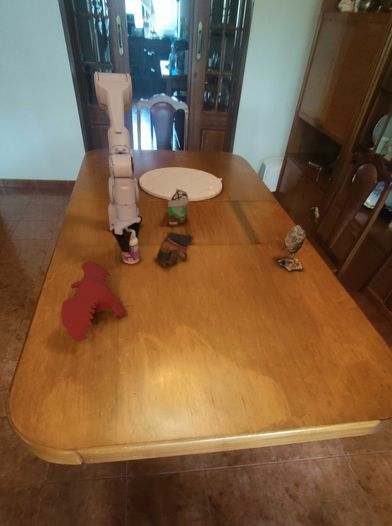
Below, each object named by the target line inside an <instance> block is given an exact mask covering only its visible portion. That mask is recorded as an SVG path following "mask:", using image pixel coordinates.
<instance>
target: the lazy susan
mask: <svg viewBox="0 0 392 526" xmlns="http://www.w3.org/2000/svg"><path fill="white" fill-rule="evenodd" d="M222 180H223V177H222V178H221V177H219V178H218V177H217V176H215V175H214V174H212V173H209V172H206V171H203V170H200V169H195V168H189V167H178V166H177V167H176V166H175V167H172V166H171V167H161V168H156V169H152V170H148V171H147V172H144V173H143V174H142V175H141V176H140V178H139V181H138V182H139V186H140V188H141V189H142V190H143V191H144V192H145V193H147V194H148V195H151V196H153V197H156V198H160V199H164V200H168V201H169V200H171V199H172V197H173V195H174V194H175V193H176V189H179V190H183V191H185V192H186V193H187V195H188V199H189V202H198V201H203V200H209V199H212V198H214V197H216V196H218V195H219V194H221V192H222V190H223V183H222Z"/></svg>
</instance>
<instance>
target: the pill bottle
mask: <svg viewBox="0 0 392 526" xmlns="http://www.w3.org/2000/svg"><path fill="white" fill-rule="evenodd" d="M126 230H127V231H128V232H132V234H131V237H130V244H129V252H128V253H126V252H122V251H121V255H122V257H121V258H122V261H123V262H124V263H125V264H129V265H132V264H133V265H134V264H137V263H138V262H139V261H140V249H139V247H140V246H139V238H138V239H137V238H136V237H135V236H136V235H135V231H134V230H132V229H126Z"/></svg>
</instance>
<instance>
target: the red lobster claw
mask: <svg viewBox="0 0 392 526" xmlns="http://www.w3.org/2000/svg"><path fill="white" fill-rule="evenodd" d="M81 269H82V271H83V274H84V275H83V277H82V279H81V280H80V279H79V280H78V281H75V282H73V283H71V284H70V288H71V289H72V290H73V289H77V290H76V292H75V293H74V295H73V296H72V297H70V298H68V299H65V300H64V301H62V306H61V310H60V315H61V324H62V326H63V327H64V328H65V330H66V331H67V332H68V334H69V335H70V337H71V338H73V339H74V340H75V341H77V342H78V343H82V342H83V341H84V340H87V339H88V336H87V335H86V334H88V333H89V332H90V330H89V328H88V327H92V326H93V323H92V322H91V320H92V319H94V316H93V314H97V313H100V312H103V311H105V310H107V309H109V308H110V309H111V311H112V312H113V316H114V317H115V316H116V318H118V317H119V318H120V319H123V317H124V316H126V314H125V309H124V307H125V305H123V301H121V298H120V297H119V298H118V299H117V297H116V295H115V294H114V293H113V291H112V289H111V288H110V286H109V285H108V284H107V279H109V277H111V276H112V275H111V274H110V273H109V271H108V270H107V269H106V268H105V267H104V266H103V265H101V264H99V263H98V262H96V261H92V260H90V261H85V262H83V263H82V265H81Z"/></svg>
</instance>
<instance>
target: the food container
mask: <svg viewBox="0 0 392 526" xmlns="http://www.w3.org/2000/svg"><path fill="white" fill-rule="evenodd" d="M189 202H190V201H189V199H188V195H187V193H186V192H185V191H183V190H179V189H176V193H175V194H174V195H173V197H172V199H171V200H168V203H167V207H168V226H169V227H180V226H183V225H184V224H185V222H186V215H187V204H188V203H189Z"/></svg>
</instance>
